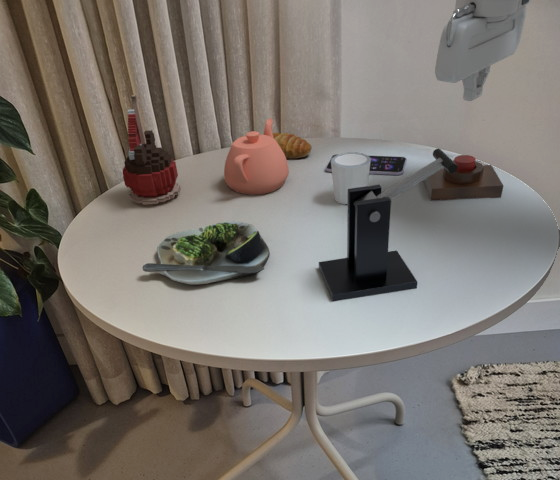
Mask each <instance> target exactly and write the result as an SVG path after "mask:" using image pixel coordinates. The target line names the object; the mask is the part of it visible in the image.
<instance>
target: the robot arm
mask: <svg viewBox="0 0 560 480" xmlns="http://www.w3.org/2000/svg"><path fill="white" fill-rule="evenodd" d="M531 1H532V0H455V6H454V11H453V12H452V14H451V17H450V19H448V21H447V23H446V24H445V25H444V27H443V29H442V31H441V34H440V39H439V43H438V48H437V53H436V61H435V67H434V75H435V78H436V80H437V81H439V82H445V83H450V84H455V83H456V84H457V83H459V82H460V81H461V82H462V87H463V93H462V99H463V101H467V102H472V101H474V100H476V99H478V98H479V97H481V96H482V95H483V90H484V85H485V83H486V81H487V79H488V76H489V74H490V72H491V66H492V65H495V64H496V63H498V62H501V61H502V60H504V59H506V58H508V57H511V56H512V55H514V54H515V53H516V52H517V49H518V47H519V44H520V42H521V38H522V34H523V30H524V25H525V21H526V16H527V5H528V4H530V3H531Z"/></svg>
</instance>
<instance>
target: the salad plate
mask: <svg viewBox="0 0 560 480" xmlns="http://www.w3.org/2000/svg"><path fill="white" fill-rule="evenodd" d="M156 253H157V258H158V261H159V263H154V262H151V263H150V262H149V263H145V264H143V265H142V271H143V272H146V273H152V274H153V273H154V274H158V275H162V276H165V277H167V278H168V279H170V280H171V281H174V282H178V283H181V284H186V285H206V284H211V283H217V282H222V281H227V280H228V281H229V280H234V279H239V278H243V277H247V276H251V275H253V274H255V273H259V272H261V271H264V270H265V267H264V266H265V265H266V263H267V261H268V260H269V259H270V255H271V253H270V248H269V246H268V245H267V243H266V241H265V240H264V238H263V237H262V235H261V233H260V232H259V230H257V229H256V227H255V226H254V225H252V224H251V223H249V222H244V221H236V220H229V221H228V220H227V221H222V222H218V223H215V224H209V225H205V226H203V227H198V228H194V229H188V230H183V231H180V232H179V231H177V232H176V233H172V234H170V235H168V236H166V237H165V238H164V239H163V240H162V241H160V242H159V244H158V246H157V248H156Z"/></svg>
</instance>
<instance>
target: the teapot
mask: <svg viewBox="0 0 560 480" xmlns="http://www.w3.org/2000/svg"><path fill="white" fill-rule="evenodd" d="M273 122H274V121H273V118H272V117H271V118H268V119H267V120H266V121H265V125H264V131H263V134H260V132H259V131H256V130H252V131H248V132H246V133H245V135H243V136H240V137H238V138H236V139H235V140H234V141H233V142H232V144H231V145H230V148H229V151H228V153H227V155H226V159H225V162H224V168H223V177H224V181H225V183H226V184H227V186H228V187H229V188H230V189H231V190H232V191H234V192H236V193H238V194H242V195H263V194H265V195H266V194H270V193H273V192H275V191H277V190H279V189H280V188H281V187H282V186H283V185H284V184H285V182H286V181H287V179H288V177H289V173H290V169H289V164H288V160H287V158H286V157H285V155H284V153H283V151H282V149H281V148H280V146H279V145H278V143H277V142H276V140H275V139H274V138H273Z"/></svg>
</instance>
